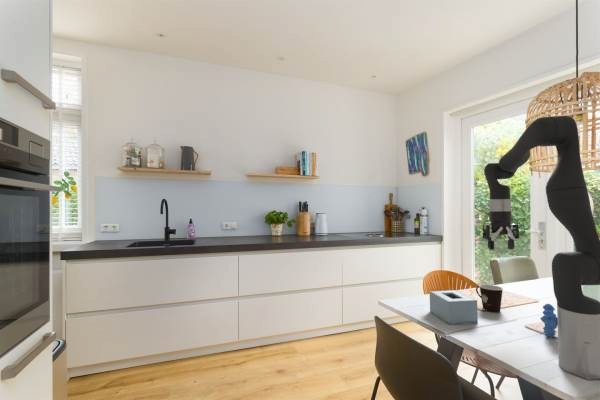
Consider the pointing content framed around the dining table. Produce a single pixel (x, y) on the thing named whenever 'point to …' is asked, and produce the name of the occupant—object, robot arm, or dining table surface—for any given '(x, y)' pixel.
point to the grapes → (549, 320)
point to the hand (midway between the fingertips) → (501, 249)
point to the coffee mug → (490, 297)
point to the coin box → (453, 307)
